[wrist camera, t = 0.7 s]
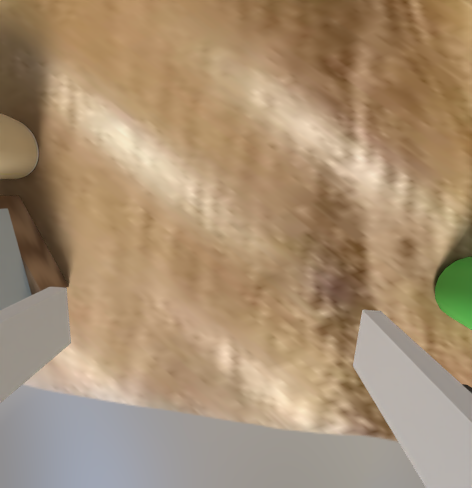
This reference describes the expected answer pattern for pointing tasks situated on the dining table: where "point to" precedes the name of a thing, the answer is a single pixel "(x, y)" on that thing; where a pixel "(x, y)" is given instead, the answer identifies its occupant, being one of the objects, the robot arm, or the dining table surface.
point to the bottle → (456, 291)
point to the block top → (11, 265)
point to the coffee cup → (16, 149)
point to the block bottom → (32, 248)
